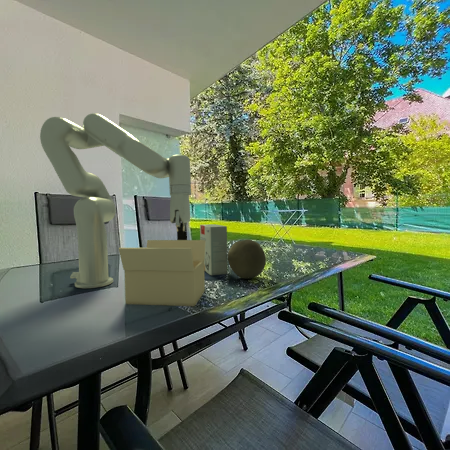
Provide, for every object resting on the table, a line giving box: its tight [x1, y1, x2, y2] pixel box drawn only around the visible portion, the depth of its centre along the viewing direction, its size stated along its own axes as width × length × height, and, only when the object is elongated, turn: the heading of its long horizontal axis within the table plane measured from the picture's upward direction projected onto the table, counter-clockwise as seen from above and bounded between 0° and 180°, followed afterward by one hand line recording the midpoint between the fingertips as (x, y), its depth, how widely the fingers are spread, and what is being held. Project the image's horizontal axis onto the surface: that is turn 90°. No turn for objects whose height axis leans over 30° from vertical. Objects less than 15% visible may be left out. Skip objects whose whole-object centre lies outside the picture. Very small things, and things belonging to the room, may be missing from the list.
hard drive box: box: [199, 223, 228, 276], centre depth 117 cm, size 16×8×20 cm, turn 21°
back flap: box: [146, 239, 206, 261], centre depth 90 cm, size 20×7×1 cm
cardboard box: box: [124, 261, 206, 307], centre depth 82 cm, size 20×14×10 cm
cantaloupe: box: [227, 239, 267, 280], centre depth 102 cm, size 14×14×15 cm
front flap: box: [118, 247, 194, 271], centre depth 73 cm, size 20×7×1 cm
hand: (182, 242), depth 97 cm, fingers closed
